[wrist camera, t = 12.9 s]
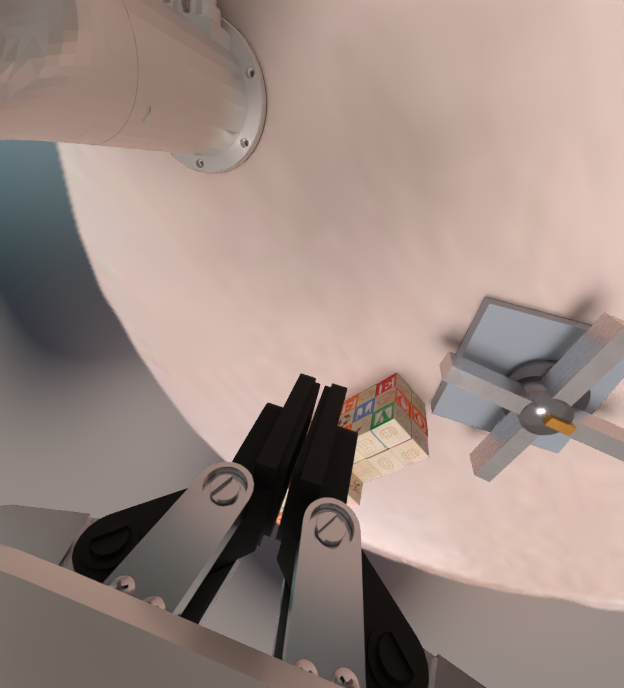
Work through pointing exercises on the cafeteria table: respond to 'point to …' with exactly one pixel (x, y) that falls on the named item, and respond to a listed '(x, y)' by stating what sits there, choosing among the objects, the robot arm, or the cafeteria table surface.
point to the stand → (515, 362)
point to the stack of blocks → (383, 433)
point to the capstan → (544, 397)
